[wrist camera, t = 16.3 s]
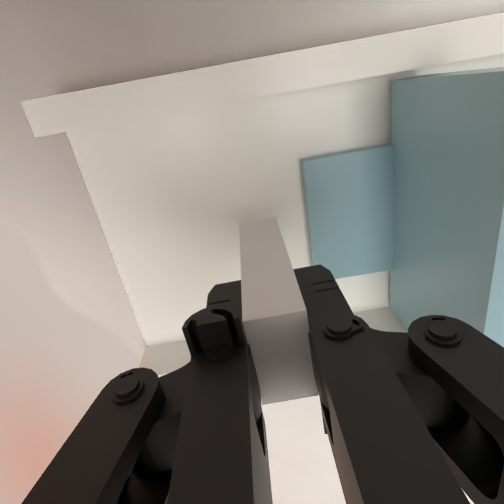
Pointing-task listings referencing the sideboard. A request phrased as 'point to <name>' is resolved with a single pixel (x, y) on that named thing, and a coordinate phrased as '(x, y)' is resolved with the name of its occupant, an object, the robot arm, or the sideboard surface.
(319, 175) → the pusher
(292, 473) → the sideboard surface
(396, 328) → the white shallow tray
